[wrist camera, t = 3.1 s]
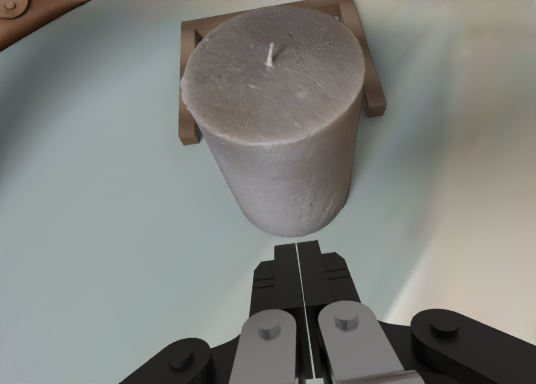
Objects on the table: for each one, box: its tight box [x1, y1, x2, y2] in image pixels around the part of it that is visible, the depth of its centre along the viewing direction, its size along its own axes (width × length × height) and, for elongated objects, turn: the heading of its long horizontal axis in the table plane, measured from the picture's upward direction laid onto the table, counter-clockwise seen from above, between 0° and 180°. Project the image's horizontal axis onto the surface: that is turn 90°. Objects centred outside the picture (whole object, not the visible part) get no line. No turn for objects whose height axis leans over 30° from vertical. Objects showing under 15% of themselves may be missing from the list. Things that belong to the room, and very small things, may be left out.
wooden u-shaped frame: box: [178, 0, 386, 145], centre depth 36 cm, size 16×19×2 cm
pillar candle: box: [180, 5, 366, 237], centre depth 23 cm, size 10×10×15 cm
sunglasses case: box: [0, 0, 90, 52], centre depth 45 cm, size 18×7×7 cm, turn 132°
